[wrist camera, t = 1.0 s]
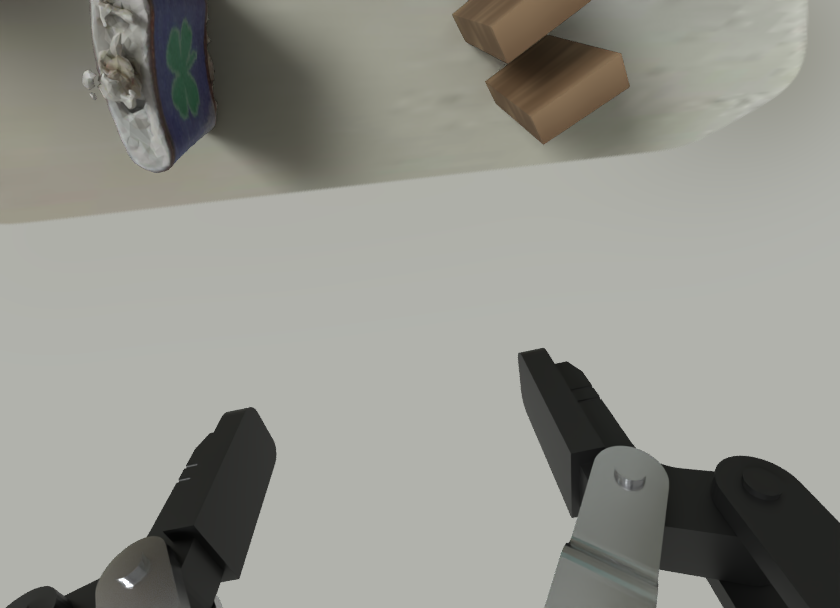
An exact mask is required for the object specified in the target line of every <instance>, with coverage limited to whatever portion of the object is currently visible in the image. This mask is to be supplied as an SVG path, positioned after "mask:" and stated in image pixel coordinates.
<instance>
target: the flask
mask: <svg viewBox="0 0 840 608" xmlns="http://www.w3.org/2000/svg"><path fill="white" fill-rule="evenodd" d="M90 20H91V30H92V42H93V50H94V55H95V59H96V69H97V71H98V73H99V78H98V81H99V82H100V84H99V85H98V86H97V87H98V88H99V90H100V91H101V93H102V95H103V96H104V98H106V100H107V103H108V107H109V110H110V112H111V115H112V117H113V119H114V122H115V124H116V127H117V131H118V133H119V136H120V138H121V141H122V142H123V144H124V146H125V149H126V151H127V153H128V155H129V156H130V158H131V159H132V160H133V162H134V163H135V164H137V165H139V166H140V167H142V168H144V169H146V170H149V171H151V172H154V173H159V172H163V171H167V170H169V169H170V168H171V167H172V166H173V164H174V163H175V162H176V161H177V160H178V159H179V158H180V157H181V156H182V155H183V154H184V153H185V152H186V151H187V150H188V149H189V148H190V147H191V146H192V145H194V144H195V143H196V142H197V141H198V140H199V139H200V138H202V137H203V136H204V135H205V134H206V133H208V132H209V131H210V130H211V129H213V127H214V126H215V125H216V117H217V107H218V106H217V101H215V100H214V96H213V81H214V75H213V74H214V72H215V71H214V69H213V62H212V60H211V58H210V55H209V53H208V51H207V43H209V42H210V39H209V36H208V34H207V32H206V24H207V21H208V20H209V18H208V3H207V0H90ZM95 76H96V74H94V73H93V72H92V71H91V70H86V71H85V72H84V73H83V80H82V82H83V84H84V86H85V87H86V88H88V89H89V90H90V89H92V88H93V87H95V85H94V81H93V79H94V77H95ZM90 96H91V97H92V99H94V100H96V99H97V96H96V95H95V93H90Z"/></svg>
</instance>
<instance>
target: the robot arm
mask: <svg viewBox="0 0 840 608" xmlns="http://www.w3.org/2000/svg"><path fill="white" fill-rule="evenodd" d="M518 363H519V372H520V383H521V393H522V398H523V403H524V406H525V409H526V412H527V415H528V417H529V419H530V421H531V424H532V426H533V429H534V431H535V433H536V436H537V438H538V440H539V442H540V445H541V447H542V450H543V452H544V454H545V457H546V459H547V461H548V464H549V466H550V468H551V471H552V473H553V475H554V478H555V480H556V482H557V485H558V487H559V489H560V492H561V494H562V496H563V499H564V501H565V503H566V506H567V508H568V510H569V513H570V515H571V517H572V518H574V517H577V521H576V524H575V528H574V531H573V534H572V538H571V540H570V542H569V543H566V544H565V546H564V548H563V550H562V552H561V555H560V558H559V562H558V565H557V568H556V571H555V574H554V578H553V581H552V584H551V588H550V591H549V594H548V598H547V601H546V604H545V607H544V608H656V604H657V594H658V574H659V569H660V570H665V571H671V572H677V573H683V574H688V575H694V576H700V577H705V578H706V579H707V580H708V582H709V584H710V585H711V587H712V589H713V591H714V592H715V594H716V595H717V597H718V599H719V601H720V602H721V604H722V606H723V607H724V608H840V523H839V522H838V521H837V520H836V519H835V518H834V517H833V515H831V514H830V512H829V511H828V510H827V509H826V508H825V507H824V506H823V505H822V504H821V503H820V502H819V501H818V500H817V499H816V498H815V497H814V496H813V495H812V494H811V493H810V492H809V491H808V490H807V489H806V488H805V487H804V486H803V485H802V484H801V483H800V482H799V481H798V480H797V479H796V478H795V477H794V476H792V475H791V474H790V473H789V472H787V471H785V470H784V469H782V468H781V467H779V466H777V465H775V464H773V463H770V462H768V461H765V460H762V459H758V458H755V457H749V456H733V457H728V458H726V459H724V460H722V461H721V462H720V463H719V464H718V465H717V467H716V469H715V472H713V471H702V470H692V469H682V468H675V467H670V466H666V465H663V464H660V463H659V462H658V461H657V460H656V459H655V458H654V457H652V456H651V455H649V454H648V453H646V452H644V451H642V450H639V449H636V448H635V447H634V445H633V444H632V443H631V441H630V440H629V438H628V437H627V436H626V434H625V433H624V431H623V430H622V429H621V427H620V426H619V424H618V423H617V421H616V420H615V418H614V417H613V415H612V414H611V412H610V411H609V410H608V408H607V407H606V405H605V404H604V403H603V401H602V400H600V397H599V395H598V394H597V392H596V391H595V389H594V388H592V385H591V383H590V382H589V381H588V379H587V378H586V376H585V375H584V373H583V372H582V371H581V370H579V369H578V368H576V367H574V366H573V365H572V364H570V363H569V362H562V363H557V364H554V362H553V361H552V359H551V357H550V356H549V354H548V352H547V351H546V349H545V348H540V349H535V350H531V351H526V352H521V353H518ZM275 461H276V447H275V443H274V441H273V439H272V437H271V435H270V433H269V432H268V430H267V428H266V426H265V425H264V423H263V421H262V419H261V418H260V416H259V414H258V412H257V411H256V410H255V409H254V408H252V407H249V408H244V409H240V410H235V411H230V412H226V413H225V414H224V415H223V416H222V418H221V420H220V421H219V423H218V425H217V427H216V429H215V431H214V433H210V434H209V435H208V436H207V437H206V438H205V439H204V440H203V441H202V442H201V444H199V446H198V447H197V448H196V449H195V450H194V452H193V454H192V456H191V458H190V460H189V461H188V463H187V465H186V467H187V468H186V469H184V470H183V472H182V474H181V476H180V478H179V483H176V485H175V487H174V489H173V490H172V492H171V494H170V496H169V498H168V500H167V501H166V503H165V505H164V507H163V509H162V510H161V512H160V514H159V516H158V518H157V520H156V521H155V524H154V525H153V527H152V529H151V531H150V532H149V534H148V536H147V537H146V538H143V539H141V540H138V541H137V542H135V543H133V544H131V545H130V546H128V547H127V548H126V549H124V550H123V551H122V552H121V553H120V554H118V555H117V556H116V557H115V558H114V559H113V560H112V562H111V563H110V564H109V565H108V566H107V568H106V569H105V571H104V572H103V574H102V575H101V577H100V579H98V580H96V581H94V582H92V583H90V584H88V585H85V586H83V587H81V588H79V589H77V590H75V591H73V592H71V593H69V594H67V595H65V596H63V595H62V594H61V593H59V592H58V591H57V590H55V589H54V588H52V587H50V586H44V587H40V588H36V589H34V590H31V591H29V592H27V593H26V594H24V595H22V596H21V597H19V598H18V599H16V600H15V601H13V602H12V603H11V604H10V605H8V606H7V607H6V608H223V607H222V604H221V602H220V600H219V598H218V597H217V596H216V594H217V591H218V588H219V585H220V582H225V581H230V580H236V579H239V578H240V575H241V571H242V568H243V565H244V562H245V558H246V555H247V552H248V549H249V545H250V542H251V539H252V536H253V533H254V530H255V526H256V523H257V520H258V517H259V513H260V510H261V507H262V503H263V501H264V497H265V494H266V491H267V488H268V484H269V481H270V478H271V475H272V471H273V468H274V465H275Z"/></svg>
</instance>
